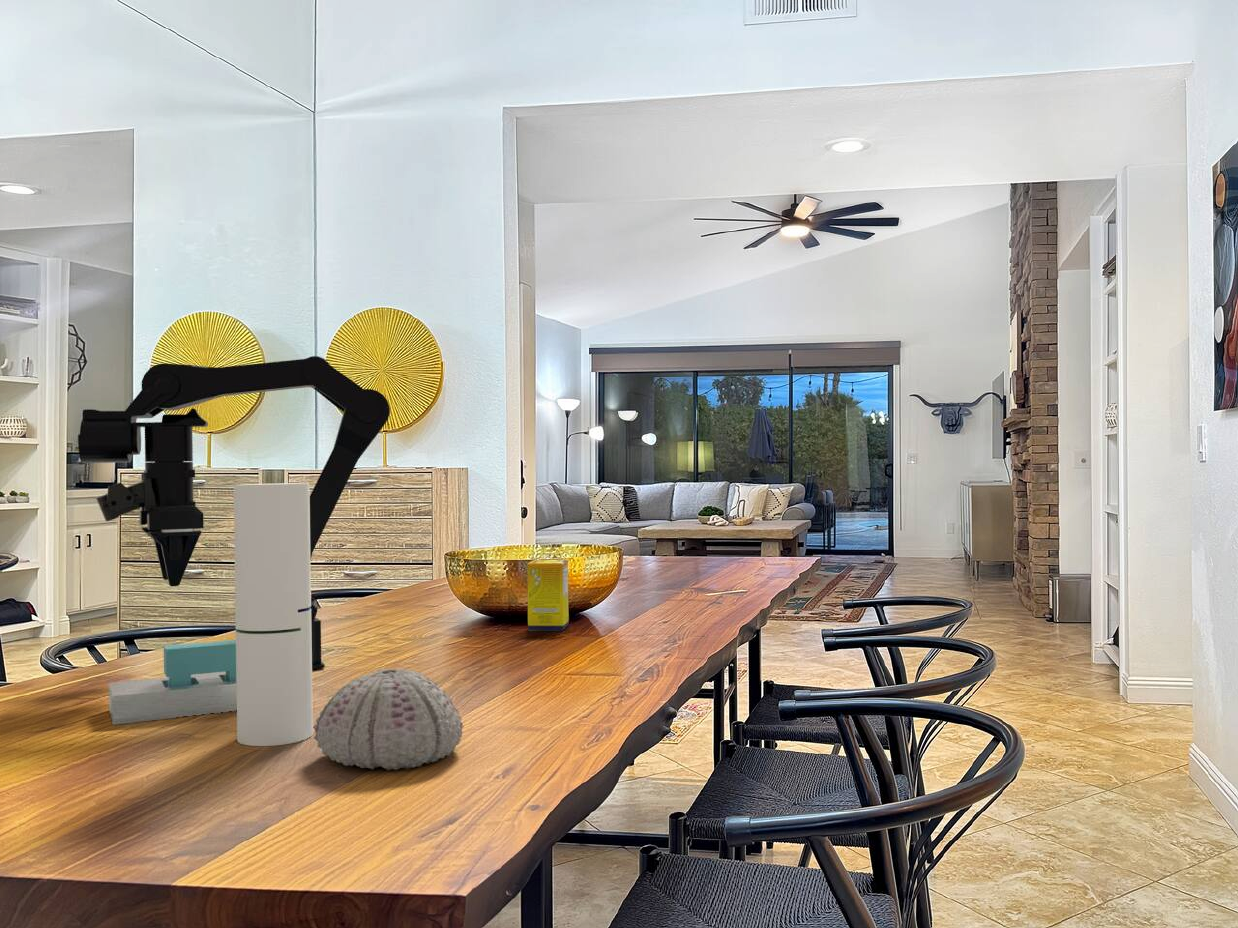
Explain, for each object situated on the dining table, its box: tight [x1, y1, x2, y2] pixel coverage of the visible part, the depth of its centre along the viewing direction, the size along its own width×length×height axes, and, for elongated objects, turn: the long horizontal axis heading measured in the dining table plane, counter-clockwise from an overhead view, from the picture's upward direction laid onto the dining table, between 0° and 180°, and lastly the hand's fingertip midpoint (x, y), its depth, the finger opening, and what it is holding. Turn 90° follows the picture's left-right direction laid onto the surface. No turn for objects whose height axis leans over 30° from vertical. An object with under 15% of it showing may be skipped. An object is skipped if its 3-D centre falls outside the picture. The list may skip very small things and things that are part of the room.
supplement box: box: [526, 559, 570, 632], centre depth 176 cm, size 6×6×11 cm
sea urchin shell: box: [313, 668, 465, 771], centre depth 98 cm, size 13×14×8 cm
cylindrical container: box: [233, 482, 314, 747], centre depth 106 cm, size 7×7×25 cm
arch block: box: [163, 639, 236, 687], centre depth 120 cm, size 9×3×7 cm, turn 118°
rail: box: [108, 672, 237, 726], centre depth 120 cm, size 20×8×3 cm, turn 118°
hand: (170, 582), depth 139 cm, fingers open, 9 cm apart
